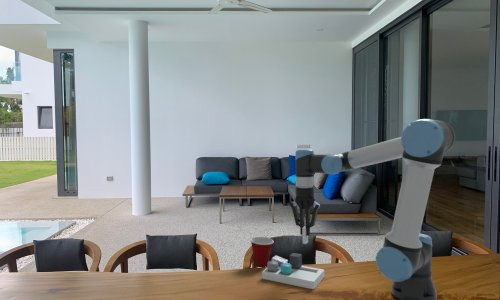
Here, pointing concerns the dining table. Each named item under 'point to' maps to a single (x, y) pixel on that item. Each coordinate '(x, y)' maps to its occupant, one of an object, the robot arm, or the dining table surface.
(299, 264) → the slider knob
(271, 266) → the grey button
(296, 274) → the panel
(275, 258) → the white block with nub
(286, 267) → the teal button
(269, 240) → the plastic cup
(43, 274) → the dining table surface
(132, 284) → the dining table surface
